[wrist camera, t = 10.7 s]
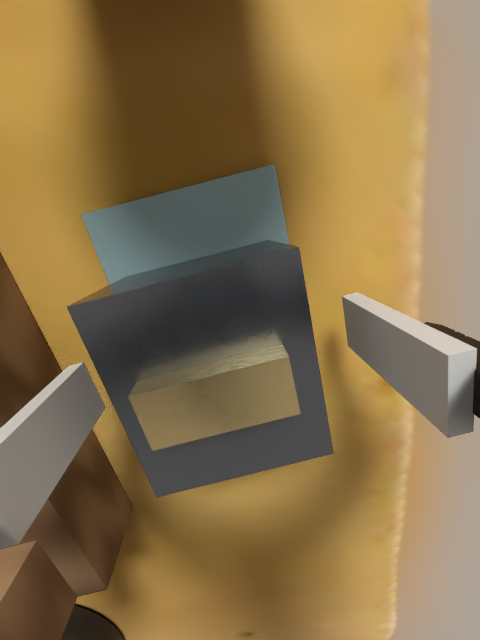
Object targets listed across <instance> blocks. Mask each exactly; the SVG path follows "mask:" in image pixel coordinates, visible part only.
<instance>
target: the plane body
mask: <svg viewBox="0 0 480 640" xmlns="http://www.w3.org/2000/svg"><path fill="white" fill-rule="evenodd" d="M61 372H62V371H61V369H60V367H59V365H58V363H57V361H56V359H55V357H54V355H53V353H52V351H51V350H50V348H49V346H48V344H47V342H46V340H45V338H44V336H43V334H42V332H41V330H40V328H39V327H38V325H37V323H36V321H35V319H34V317H33V315H32V313H31V311H30V309H29V307H28V305H27V304H26V302H25V300H24V298H23V296H22V294H21V292H20V290H19V288H18V286H17V284H16V282H15V281H14V279H13V277H12V275H11V273H10V271H9V269H8V267H7V265H6V263H5V261H4V259H3V258H2V256H1V254H0V428H1V427H2V426H4V425H5V424H6V423H7V422H8V421H9V420H10V419H11V418H12V417H13V416H14V415H16V414H17V413H18V412H19V411H20V410H21V409H22V408H23V407H24V406H25V405H26V404H28V403H29V402H30V401H31V400H32V399H33V398H34V397H35V396H36V395H37V394H39V393H40V392H41V391H42V390H43V389H44V388H45V387H46V386H47V385H48V384H49V383H51V382H52V381H53V380H54V379H55V378H56V377H57V376H58V375H59V374H60V373H61ZM132 508H133V507H132V505H131V503H130V501H129V499H128V497H127V495H126V493H125V491H124V490H123V488H122V486H121V484H120V482H119V480H118V478H117V476H116V474H115V472H114V470H113V468H112V467H111V465H110V463H109V461H108V459H107V457H106V455H105V453H104V451H103V449H102V447H101V445H100V444H99V442H98V440H97V438H96V436H95V434H94V432H93V430H91V431H90V433H89V434H88V436H87V438H86V439H85V441H84V442H83V444H82V445H81V447H80V449H79V450H78V452H77V453H76V455H75V456H74V458H73V460H72V461H71V463H70V464H69V466H68V468H67V469H66V471H65V472H64V474H63V475H62V477H61V479H60V480H59V482H58V483H57V485H56V486H55V488H54V490H53V491H52V493H51V494H50V496H49V497H48V499H47V501H46V502H45V504H44V505H43V507H42V508H41V510H40V512H39V513H38V515H37V516H36V518H35V519H34V521H33V523H32V524H31V526H30V527H29V529H28V530H27V532H26V534H25V535H24V537H23V538H22V540H21V541H20V543H19V544H17V545H13V546H9V547H5V548H1V549H0V640H61V638H62V635H63V633H64V630H65V628H66V625H67V622H68V620H69V617H70V615H71V612H72V609H73V607H74V604H75V602H76V599H77V597H78V596H83V595H87V594H91V593H95V592H99V591H103V590H107V588H108V585H109V582H110V579H111V575H112V572H113V569H114V566H115V563H116V559H117V556H118V553H119V550H120V547H121V543H122V540H123V537H124V534H125V530H126V527H127V524H128V521H129V518H130V514H131V511H132Z"/></svg>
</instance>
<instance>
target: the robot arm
mask: <svg viewBox="0 0 480 640" xmlns="http://www.w3.org/2000/svg"><path fill="white" fill-rule="evenodd" d="M342 300H343V308H344V316H345V324H346V332H347V340H348V346H349V347H350V348H351V349H352V350H353V351H354V352H355V353H356V354H357V355H358V356H359V357H361V358H362V359H363V360H364V361H365V362H366V363H367V364H368V365H369V366H370V367H371V368H373V369H374V370H375V371H376V372H377V373H378V374H379V375H380V376H381V377H382V378H383V379H384V380H386V381H387V382H388V383H389V384H390V385H391V386H392V387H393V388H394V389H395V390H396V391H397V392H399V393H400V394H401V395H402V396H403V397H404V398H405V399H406V400H407V401H408V402H409V403H410V404H412V405H413V406H414V407H415V408H416V409H417V410H418V411H419V412H420V413H421V414H422V415H424V416H425V417H426V418H427V419H428V420H429V421H430V422H431V423H432V424H433V425H434V426H436V427H437V428H438V429H439V430H440V431H441V432H442V433H443V434H444V435H445V436H446V437H448V438H449V437H453V436H457V435H461V434H465V433H469V432H473V425H474V424H473V423H474V414H475V415H476V416H477V417H479V418H480V342H479V341H477V340H475V339H472V338H470V337H468V336H467V337H466V336H465V335H464V334H461V333H459V332H455V331H454V330H452V329H450V328H448V327H445V326H442V325H438V324H433V323H429V322H426V323H422V322H419V321H417V320H415V319H413V318H411V317H409V316H407V315H405V314H402V313H400V312H398V311H396V310H394V309H392V308H390V307H387V306H385V305H383V304H381V303H379V302H377V301H375V300H373V299H370V298H368V297H366V296H364V295H362V294H360V293H358V292H356V293H353V294H349V295H345V296H342ZM105 408H106V407H105V405H104V403H103V401H102V399H101V397H100V395H99V393H98V391H97V388H96V386H95V384H94V382H93V380H92V378H91V376H90V374H89V372H88V370H87V368H86V366H85V364H84V362H82V363H78V364H74V365H70V366H68V367H67V368H66V369H65V370H64V371H63V372H61V373H60V374H59V375H58V376H57V377H56V378H55V379H54V380H53V381H52V382H51V383H49V384H48V385H47V386H46V387H45V388H44V389H43V390H42V391H41V392H40V393H39V394H37V395H36V396H35V397H34V398H33V399H32V400H31V401H30V402H29V403H28V404H26V405H25V406H24V407H23V408H22V409H21V410H20V411H19V412H18V413H17V414H16V415H14V416H13V417H12V418H11V419H10V420H9V421H8V422H7V423H6V424H5V425H4V426H2V427H1V428H0V549H1V548H5V547H9V546H13V545H17V544H19V543H20V541H21V540H22V538H23V537H24V535H25V534H26V532H27V530H28V529H29V527H30V526H31V524H32V523H33V521H34V519H35V518H36V516H37V515H38V513H39V512H40V510H41V508H42V507H43V505H44V504H45V502H46V501H47V499H48V497H49V496H50V494H51V493H52V491H53V490H54V488H55V486H56V485H57V483H58V482H59V480H60V479H61V477H62V475H63V474H64V472H65V471H66V469H67V468H68V466H69V464H70V463H71V461H72V460H73V458H74V456H75V455H76V453H77V452H78V450H79V449H80V447H81V445H82V444H83V442H84V441H85V439H86V438H87V436H88V434H89V433H90V431H91V430H92V428H93V427H94V425H95V423H96V422H97V420H98V419H99V417H100V416H101V414H102V412H103V411H104V409H105ZM61 640H123V638H122V636H121V634H120V633H119V631H118V630H117V629H116V628H115V627H114V626H113V625H112V624H111V623H110V622H108V621H107V620H106V619H104V618H103V617H101V616H99V615H98V614H96V613H93V612H91V611H89V610H87V609H84V608H81V607H78V606H74V607H73V609H72V612H71V615H70V617H69V620H68V622H67V625H66V628H65V630H64V633H63V635H62V638H61Z"/></svg>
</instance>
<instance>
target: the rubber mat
mask: <svg viewBox="0 0 480 640" xmlns="http://www.w3.org/2000/svg"><path fill="white" fill-rule="evenodd" d="M81 216H82V218H83V221H84V223H85V226H86V228H87V231H88V233H89V236H90V238H91V240H92V243H93V245H94V248H95V250H96V253H97V255H98V258H99V260H100V263H101V265H102V267H103V270H104V272H105V275H106V277H107V280H108V282H109V285H110V284H112V283H114V282H116V281H118V280H120V279H122V278H124V277H126V276H130V275H134V274H138V273H142V272H146V271H149V270H153V269H157V268H161V267H165V266H169V265H173V264H177V263H180V262H184V261H188V260H192V259H196V258H200V257H204V256H208V255H211V254H215V253H219V252H223V251H227V250H231V249H235V248H239V247H242V246H246V245H250V244H254V243H258V242H262V241H266V240H272V241H276V242H280V243H284V244H288V245H289V240H288V234H287V229H286V223H285V217H284V212H283V206H282V201H281V195H280V189H279V184H278V178H277V173H276V167H275V164H272V165H268V166H264V167H260V168H257V169H253V170H249V171H245V172H241V173H238V174H234V175H230V176H226V177H222V178H218V179H215V180H211V181H207V182H203V183H199V184H195V185H192V186H188V187H184V188H180V189H176V190H173V191H169V192H165V193H161V194H157V195H153V196H150V197H146V198H142V199H138V200H134V201H130V202H127V203H123V204H119V205H115V206H111V207H108V208H104V209H100V210H96V211H92V212H88V213H85V214H81Z"/></svg>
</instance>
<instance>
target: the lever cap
mask: <svg viewBox="0 0 480 640" xmlns="http://www.w3.org/2000/svg"><path fill="white" fill-rule="evenodd" d="M67 308H68V311H69V313H70V315H71V317H72V319H73V321H74V323H75V325H76V327H77V330H78V332H79V334H80V336H81V338H82V340H83V342H84V344H85V347H86V349H87V351H88V353H89V355H90V357H91V359H92V361H93V363H94V366H95V368H96V370H97V372H98V374H99V376H100V378H101V380H102V382H103V385H104V387H105V389H106V391H107V393H108V395H109V397H110V399H111V402H112V404H113V406H114V408H115V410H116V412H117V414H118V416H119V418H120V421H121V423H122V425H123V427H124V429H125V431H126V433H127V435H128V437H129V440H130V442H131V444H132V446H133V448H134V450H135V452H136V454H137V456H138V459H139V461H140V463H141V465H142V467H143V469H144V471H145V473H146V476H147V478H148V480H149V482H150V484H151V486H152V488H153V490H154V492H155V495H156V497H160V496H164V495H168V494H172V493H176V492H180V491H184V490H188V489H192V488H196V487H200V486H204V485H208V484H212V483H216V482H220V481H224V480H228V479H233V478H237V477H241V476H245V475H249V474H253V473H257V472H261V471H265V470H269V469H273V468H277V467H281V466H285V465H289V464H293V463H297V462H301V461H305V460H309V459H313V458H317V457H321V456H325V455H329V454H333V447H332V441H331V435H330V429H329V423H328V417H327V411H326V405H325V400H324V394H323V388H322V382H321V376H320V370H319V364H318V358H317V352H316V346H315V340H314V334H313V328H312V322H311V316H310V310H309V304H308V298H307V292H306V287H305V281H304V275H303V269H302V263H301V257H300V251H299V247H296V246H292V245H288V244H284V243H280V242H276V241H272V240H266V241H262V242H258V243H254V244H250V245H246V246H242V247H239V248H235V249H231V250H227V251H223V252H219V253H215V254H211V255H208V256H204V257H200V258H196V259H192V260H188V261H184V262H180V263H177V264H173V265H169V266H165V267H161V268H157V269H153V270H149V271H146V272H142V273H138V274H134V275H130V276H126V277H124V278H122V279H120V280H118V281H116V282H114V283H112V284H110V285H108V286H106V287H104V288H102V289H100V290H99V291H97V292H95V293H93V294H91V295H89V296H87V297H85V298H83V299H81V300H79V301H77V302H75V303H73V304H71V305H69V306H68V307H67Z"/></svg>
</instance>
